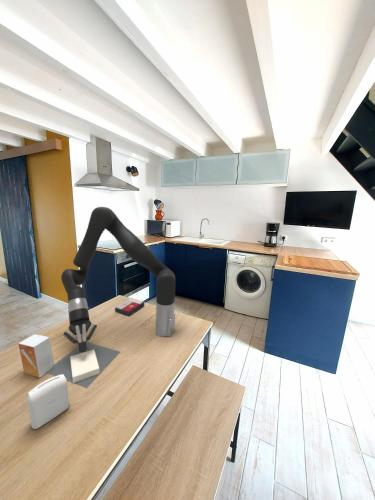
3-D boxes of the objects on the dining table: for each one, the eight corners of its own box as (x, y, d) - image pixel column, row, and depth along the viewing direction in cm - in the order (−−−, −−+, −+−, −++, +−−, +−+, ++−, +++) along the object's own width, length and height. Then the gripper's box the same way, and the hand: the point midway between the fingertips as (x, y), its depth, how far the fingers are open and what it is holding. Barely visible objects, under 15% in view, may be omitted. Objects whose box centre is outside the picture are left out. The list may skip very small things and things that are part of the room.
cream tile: (70, 356, 85) (72, 377, 75) (94, 349, 90) (99, 368, 80) (70, 361, 85) (73, 383, 75) (94, 354, 90) (99, 373, 80)
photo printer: (33, 433, 59) (28, 397, 57) (29, 422, 62) (24, 388, 59) (71, 407, 67) (68, 375, 65) (66, 399, 70) (63, 368, 67)
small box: (23, 373, 79) (17, 343, 77) (40, 362, 85) (34, 333, 82) (39, 378, 77) (33, 347, 74) (55, 366, 82) (49, 336, 80)
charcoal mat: (120, 352, 93) (120, 351, 92) (86, 389, 74) (86, 388, 74) (84, 342, 98) (84, 341, 98) (44, 373, 80) (44, 372, 80)
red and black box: (114, 306, 126) (131, 296, 139) (114, 313, 127) (131, 302, 140) (128, 311, 121) (144, 300, 134) (128, 318, 123) (144, 306, 136)
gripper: (60, 311, 84) (63, 356, 77) (95, 304, 91) (102, 345, 84) (60, 317, 90) (64, 359, 82) (94, 310, 97) (100, 349, 89)
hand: (83, 352), depth 83 cm, fingers closed
